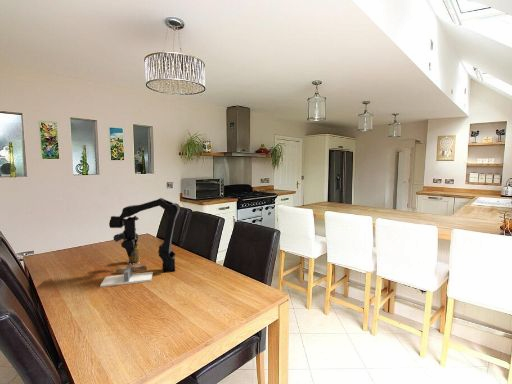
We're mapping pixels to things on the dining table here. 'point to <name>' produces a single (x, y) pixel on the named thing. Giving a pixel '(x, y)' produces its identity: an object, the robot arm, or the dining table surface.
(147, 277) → the balance stand
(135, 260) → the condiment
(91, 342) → the dining table surface
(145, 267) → the walnut bar
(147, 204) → the robot arm
